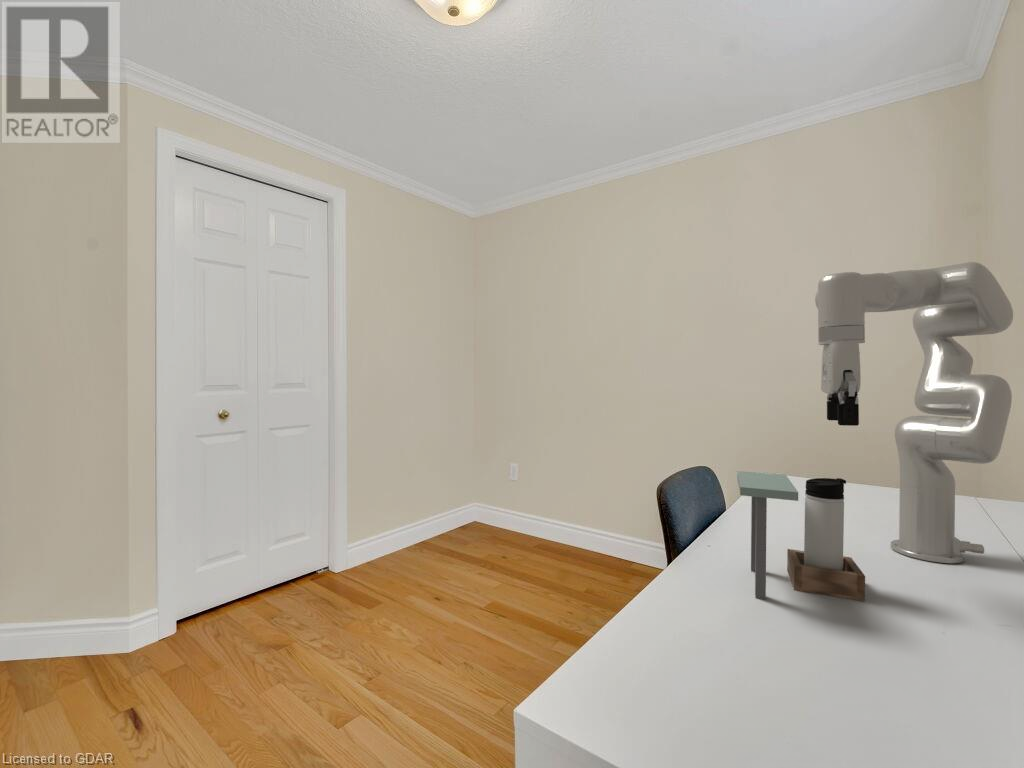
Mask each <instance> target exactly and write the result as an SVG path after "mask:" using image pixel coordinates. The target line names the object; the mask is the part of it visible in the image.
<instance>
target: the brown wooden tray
mask: <svg viewBox="0 0 1024 768" xmlns="http://www.w3.org/2000/svg"><path fill="white" fill-rule="evenodd" d="M786 554H787V556H786V557H787V563H786V564H787V567H786V568H787V569H786V570H787V574H788V577H789V579H790V581H791V585H792V587H793V590H794V591H800V592H807V593H811V594H818V595H823V596H830V597H831V596H832V597H835V598H836V597H837V598H843V599H848V600H854V601H861V602H866V575H865V574H864V572H863V571H862V570H861V569H860V568H859V566H858V564H857V563H856V561H855V560H854V559H853V558H852V557H850V556H844V555H843V571H841V570H834V569H827V568H820V567H813V566H807V565H804V550H799V549H792V548H787V553H786Z"/></svg>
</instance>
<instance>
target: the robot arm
mask: <svg viewBox="0 0 1024 768" xmlns="http://www.w3.org/2000/svg"><path fill="white" fill-rule="evenodd" d="M993 274H994V273H992V272H991V270H990V269H988V268H987V267H986V266H985V265H983V264H982V263H980V262H976V261H970V262H963V263H957V264H952V265H944V266H942V267H934V268H927V269H913V270H912V269H911V270H898V271H893V272H887V273H886V272H885V273H883V272H877V273H876V272H875V273H866V274H865V273H864V274H863V273H862V274H861V273H859V272H857V271H855V272H854V271H851V272H850V271H847V272H846V271H845V272H838V273H832V274H828V275H824V276H823V277H821V278H820V279H819V281H818V283H817V291H816V293H815V297H814V302H815V306H816V309H817V316H818V317H817V325H818V326H817V327H818V331H817V332H818V346H823V347H822V356H821V357H822V358H821V376H820V377H821V378H820V379H821V380H820V383H821V384H820V390H821V392H822V393H824V394H827V396H826V400H827V401H826V420H828V421H837V425H838V426H847V427H849V426H850V427H851V426H853V427H854V426H856V427H857V426H859V424H860V419H859V418H860V416H859V415H860V409H859V408H860V407H859V394H858V393H859V392H861V391H860V390H861V379H862V378H861V355H860V354H861V352H860V344H864V343H866V340H865V339H866V337H865V336H866V335H865V334H866V333H865V332H866V331H865V329H866V328H865V325H866V322H865V321H866V319H865V316H866V315H865V313H886V312H894V311H895V312H896V311H905V310H913V309H916V310H915V312H914V313H913V315H912V328H913V329H914V332H915V335H916V337H917V339H918V341H919V344H920V346H921V349H922V351H923V355H924V360H923V365H922V368H921V373H920V376H919V379H918V382H917V386H916V389H915V394H914V405H915V407H916V409H918V410H919V411H920V412H922V413H925V414H927V415H913V416H908V417H905V418H903V419H901V420H899V422H897V424H896V425H895V429H894V439H895V444H896V449H897V453H898V460H899V509H898V510H899V511H898V512H899V515H898V516H899V517H898V518H899V522H898V523H899V525H898V529H899V530H898V532H899V533H898V536H899V537H898V539H894V540H891V541H890V548H891V549H892V550H893V551H894V552H897V553H899V554H901V555H904V556H908V557H911V558H914V559H917V560H923V561H927V562H932V563H938V564H939V563H942V564H959V563H963V562H964V561H965V555H964V554H965V553H966V552H970V553H973V554H984V553H985V547H984V545H983V544H979V543H971V541H967V540H960V539H959V538H957V537H956V536H955V534H956V533H955V529H956V528H955V527H956V526H955V524H956V523H955V521H956V518H955V517H956V479H955V476H954V475H953V472H952V470H950V469H949V467H948V466H947V464H945V462H944V461H950V462H951V461H952V462H958V463H959V462H960V463H961V462H962V463H970V464H980V465H982V464H983V465H985V464H990V463H992V462H994V461H995V460H996V459H997V458H998V456H999V454H1000V452H1001V449H1002V445H1003V441H1004V437H1005V433H1006V430H1007V429H1006V428H1007V424H1008V420H1009V416H1010V413H1011V408H1012V407H1011V406H1012V398H1013V397H1012V390H1011V386H1010V384H1009V383H1008V381H1007V380H1006V379H1005V378H1003V377H1001V376H998V375H994V374H981V373H980V374H975V373H974V374H971V373H972V369H973V365H974V359H973V356H972V355H971V352H970V351H968V350H967V349H966V348H965V347H964V346H963V345H961V344H960V343H958V342H957V341H956V340H955V339H954V338H953V337H967V336H969V337H971V336H981V335H982V336H983V335H995V334H999V333H1003V332H1005V331H1006V330H1007V329H1008V328H1009V327H1010V326H1011V324H1012V322H1013V321H1014V320H1013V319H1014V310H1013V306H1012V304H1011V302H1010V300H1009V298H1008V295H1006V293H1005V291H1004V290H1003V288H1002V286H1001V284H1000V283H999V281H998V280H997V278H996V276H994V275H993ZM936 415H937V416H936ZM948 416H949V417H948ZM950 416H951V417H950ZM963 417H965V418H963ZM966 417H967V418H966Z"/></svg>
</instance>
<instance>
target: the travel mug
mask: <svg viewBox="0 0 1024 768" xmlns="http://www.w3.org/2000/svg"><path fill="white" fill-rule="evenodd" d="M846 484H847V480H846V479H843V478H841V477H840V478H838V477H837V478H830V477H829V478H826V477H821V478H820V477H819V478H817V477H816V478H811V479H810V478H809V479H806V480H805V493H804V495H805V496H804V497H805V498H804V533H803V534H804V536H803V537H804V543H803V544H804V547H803V548H804V549H803V551H804V565H807V566H813V567H820V568H827V569H834V570H841V571H843V556H844V536H845V535H844V533H845V532H844V531H845V530H844V526H845V523H844V522H845V502H844V501H845V497H844V496H845V495H844V493H845V485H846Z"/></svg>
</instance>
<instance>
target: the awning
mask: <svg viewBox="0 0 1024 768" xmlns="http://www.w3.org/2000/svg"><path fill="white" fill-rule="evenodd" d="M736 472H737V473H736V478H737V484H738V491H739V495H740V496H743V497H751V507H750V508H751V509H750V511H751V512H750V515H751V517H750V518H751V520H750V522H751V523H750V529H751V530H750V532H751V533H750V572H752V571H754V572H753V573H754V576H755V577H754V579H755V580H754V598H756V599H761V600H765V601H766V599H767V587H766V585H767V517H768V515H767V507H768V506H767V505H768V504H767V503H768V502H767V501H768V500H767V499H774V500H775V499H776V500H787V501H796V502H797V501H798V502H799V491H798V489H797V488H796V487H795V486H794V484H793V482H792V481H791V480H790V478H789V477H788V476H787V474H778V473H766V472H753V471H752V472H751V471H741V470H738V471H736Z"/></svg>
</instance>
